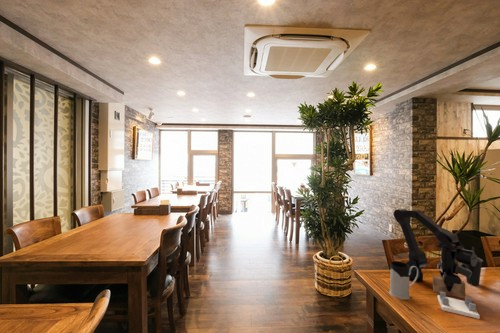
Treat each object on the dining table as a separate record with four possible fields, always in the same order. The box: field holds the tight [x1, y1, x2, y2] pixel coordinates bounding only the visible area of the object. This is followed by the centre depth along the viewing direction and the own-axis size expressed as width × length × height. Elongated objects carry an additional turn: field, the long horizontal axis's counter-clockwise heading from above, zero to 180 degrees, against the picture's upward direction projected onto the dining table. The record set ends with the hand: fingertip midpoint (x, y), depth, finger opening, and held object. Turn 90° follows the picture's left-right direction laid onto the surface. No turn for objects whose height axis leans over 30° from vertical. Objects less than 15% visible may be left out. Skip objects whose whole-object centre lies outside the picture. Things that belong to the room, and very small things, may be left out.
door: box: [432, 275, 466, 299], centre depth 117 cm, size 12×3×7 cm, turn 60°
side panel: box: [437, 292, 480, 320], centre depth 105 cm, size 12×11×4 cm
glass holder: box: [388, 260, 419, 301], centre depth 116 cm, size 9×14×15 cm, turn 95°
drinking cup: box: [465, 246, 484, 287], centre depth 127 cm, size 8×8×20 cm
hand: (448, 289), depth 117 cm, fingers open, 3 cm apart
